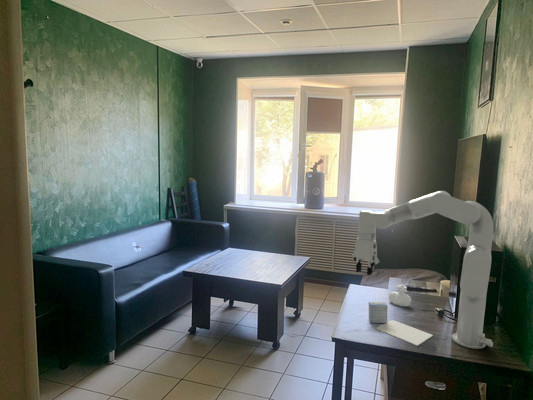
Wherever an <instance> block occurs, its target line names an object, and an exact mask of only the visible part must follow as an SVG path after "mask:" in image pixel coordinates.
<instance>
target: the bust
mask: <svg viewBox="0 0 533 400" xmlns="http://www.w3.org/2000/svg"><path fill="white" fill-rule="evenodd" d="M395 286H396V288H397V289H396V290H397V291H390V292H389V293H388V300H389V302H390V303H392V304H393V305H396V306H400V307H409V305H410V304H411V302H412V297H411V296H409V294H407V293H405V292H407V289H408V287H407V286H406V285H405V284H396V285H395Z"/></svg>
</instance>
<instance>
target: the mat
mask: <svg viewBox="0 0 533 400" xmlns="http://www.w3.org/2000/svg"><path fill="white" fill-rule="evenodd" d="M375 330H378V331H380V332H383V333H384V334H386V335H389V336H392V337H394V338H396V339H398V340H402V341H404V342H406V343H409V344H411V345H414V346H416V347H418V346H420V345H422V344H423V343H424V342H426V341H428V340H429V339H430V338H432V337H434V334H431V333H429V332H426V331H423V330H421V329H418V328H415V327H412V326H410V325H408V324H404V323H402V322H399V321H397V320H394V319H391V320H389V321H387V323H382V324H381V325H379V326H378V327H376V328H375Z"/></svg>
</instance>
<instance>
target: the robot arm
mask: <svg viewBox="0 0 533 400" xmlns="http://www.w3.org/2000/svg"><path fill="white" fill-rule="evenodd" d="M434 214H438V215H440V216H443V217H446V218H448V219H451V220H452V221H456V222H458V223H461V224H464V225H469V230H468V231H469V232H468V239H467V240H468V241H467V247H466V249H465V253H464V255H463V261H462V266H461V267H462V269H461V275H460V280H459V286H460V295H459V303H458V314H457V324H456V325H457V326H456V332H454V333H453V334H452V336H451V340H452V341H454V342H455V343H456V344H458V345H460V346H462V347H464V348H469V349H473V350H474V349H475V350H478V349H479V350H480V349H484V348H485V347H486V346H487V347H490V348H492V347H493V346H494V342H493V341H492V339H489V338H486V337H485V336H486V335H485V333H483V332H484V323H485V322H484V321H485V311H486V304H487V303H486V302H487V293H488V286H489V281H490V275H491V274H490V273H491V269H492V267H491V266H492V246H493V238H494V221H493V217H492V215H491V214H490V212H489V210H488V209H487V208H486V207H485V206H483V205H482V204H481V203H479V202H476V201H474V200H467V201H464V200H461V199H459V198H456V197H453V196H451V194H450V193H449V192H447V191H445V190H438V191H435V192H432V193H429V194H426V195H422V196H421V197H417V198H415V199H411V200H409V201H406V202H404V203H402V204H399V205H397V206H396V205H395V206H394V207H391V208H388V209H384V210H382V211H379V212H375V210H372V209H371V210H370V209H362V210H360V211H359V215H358V229H357V231H358V232H357V233H358V234H357V238H356V239H355V246H354V251H352V253H351V254H350V255H351V257H352V259H353V261H354V262H355V264H356V265H355V269H356V271H355V272H356V273H360V272H361V271H362V260H364V261H366V262H367V265H368V266H367V268H366V269H367V270H366V271H367V272H366V275H367V276H372V275H373V269H374V267H375V266H376V265H377V264H378V263H380V259H379V258H378V245H377V240H376V239H377V237H378V236H377V235H376V234H375V233H376V229H387V228H389V227H390V226H392V225H394V224H395V225H396V224H397V223H401V222H403V221H407V220H418V219H421V218H424V217H428V216H430V215H434Z"/></svg>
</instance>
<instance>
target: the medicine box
mask: <svg viewBox="0 0 533 400" xmlns="http://www.w3.org/2000/svg"><path fill="white" fill-rule="evenodd" d="M388 307H389V306H388V305H387V303H386V302H385V301H383V302H382V301H368V320H369V323H370V324H385V323H387V322H388V309H389V308H388Z"/></svg>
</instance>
